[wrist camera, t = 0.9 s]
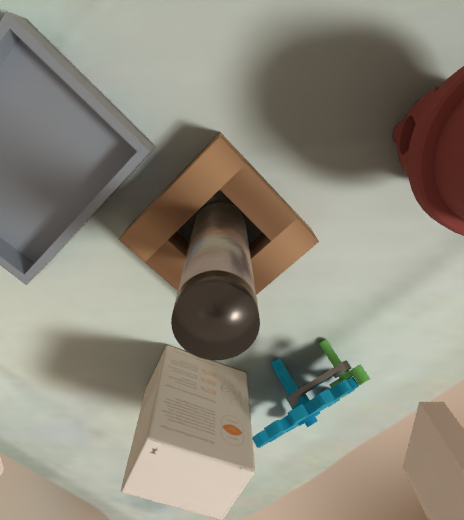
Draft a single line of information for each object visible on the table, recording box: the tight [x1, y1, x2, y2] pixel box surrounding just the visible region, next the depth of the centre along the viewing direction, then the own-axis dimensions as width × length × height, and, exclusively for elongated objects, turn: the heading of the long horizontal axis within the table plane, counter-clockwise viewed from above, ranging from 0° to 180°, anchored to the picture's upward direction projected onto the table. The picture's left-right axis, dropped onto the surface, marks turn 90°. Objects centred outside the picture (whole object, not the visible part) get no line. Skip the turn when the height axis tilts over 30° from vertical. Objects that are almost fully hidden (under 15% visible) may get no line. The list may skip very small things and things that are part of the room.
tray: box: [0, 12, 156, 285], centre depth 28 cm, size 14×11×2 cm
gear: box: [252, 340, 370, 448], centre depth 34 cm, size 11×6×10 cm
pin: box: [171, 202, 260, 360], centre depth 24 cm, size 4×4×14 cm
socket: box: [119, 132, 319, 295], centre depth 29 cm, size 10×10×3 cm
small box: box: [121, 345, 255, 520], centre depth 32 cm, size 8×6×10 cm
